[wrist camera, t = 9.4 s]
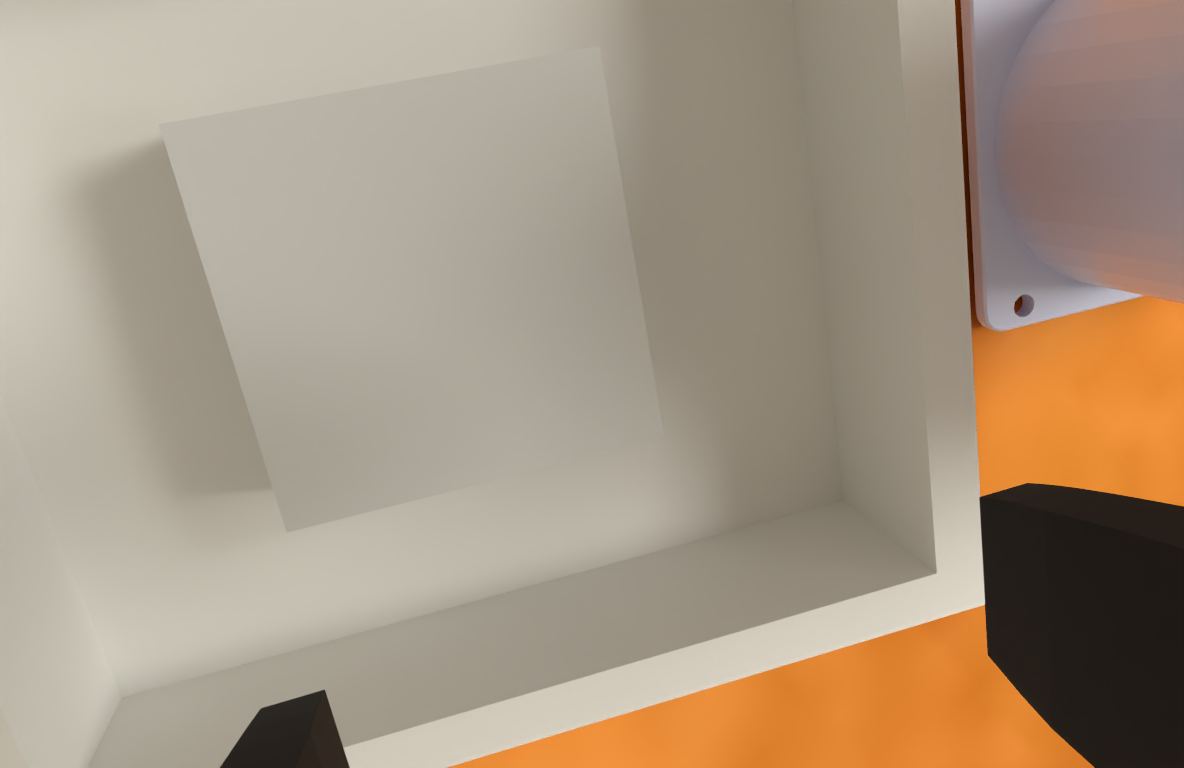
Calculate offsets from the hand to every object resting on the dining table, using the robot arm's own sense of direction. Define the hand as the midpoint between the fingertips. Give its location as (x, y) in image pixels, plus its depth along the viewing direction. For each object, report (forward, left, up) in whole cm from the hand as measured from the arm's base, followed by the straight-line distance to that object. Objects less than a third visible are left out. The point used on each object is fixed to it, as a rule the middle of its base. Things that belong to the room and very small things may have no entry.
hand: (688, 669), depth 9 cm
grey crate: (+2, -3, -10) cm, 11 cm away
